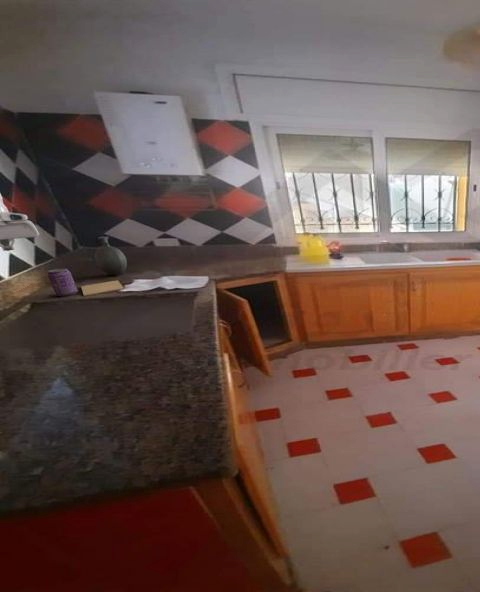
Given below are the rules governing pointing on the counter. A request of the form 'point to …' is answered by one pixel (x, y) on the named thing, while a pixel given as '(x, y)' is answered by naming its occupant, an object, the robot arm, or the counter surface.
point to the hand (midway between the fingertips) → (8, 250)
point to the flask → (110, 258)
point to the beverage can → (62, 282)
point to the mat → (101, 287)
